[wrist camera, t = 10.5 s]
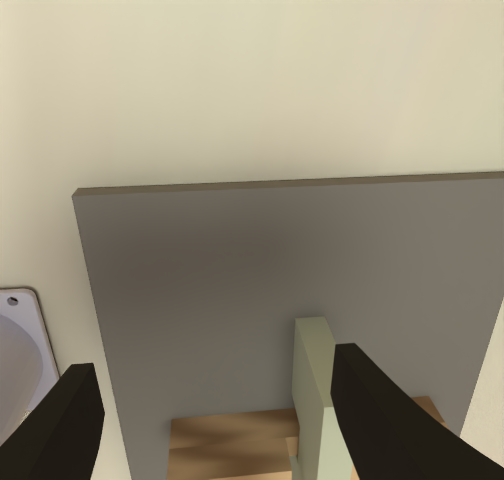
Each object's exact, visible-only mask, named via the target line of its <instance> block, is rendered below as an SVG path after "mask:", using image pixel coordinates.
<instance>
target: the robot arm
mask: <svg viewBox="0 0 504 480" xmlns="http://www.w3.org/2000/svg"><path fill="white" fill-rule="evenodd" d="M10 297H14V298H16V299H17V300H18V301H13V300H12V299H11V298H10ZM330 395H331V399H332V403H333V407H334V411H335V414H336V418H337V422H338V426H339V428H340V431H341V434H342V436H343V439H344V441H345V444H346V447H347V449H348V452H349V454H350V457H351V459H352V462H353V465H354V467H355V470H356V472H357V475H358V477H359V480H504V468H503V467H502V466H500V465H499V464H497V463H496V462H494V461H493V460H491V459H489V458H488V457H486V456H485V455H483V454H482V453H480V452H479V451H477V450H476V449H474V448H473V447H472V446H470V445H469V444H467V443H466V442H465V441H463V440H462V439H461V438H459V437H458V436H457V435H455V434H454V433H453V432H451V431H450V430H448V429H447V428H446V427H444V426H443V425H442V424H441V423H439V422H438V421H437V420H436V419H434V418H433V417H432V416H431V415H430V414H429V413H427V412H426V411H425V410H424V409H423V408H422V407H420V406H419V405H418V404H417V403H416V402H415V401H414V400H413V399H411V398H410V397H409V396H408V395H407V394H406V393H405V392H404V391H403V390H402V389H401V388H400V387H399V386H398V385H396V384H395V383H394V382H393V381H392V380H391V379H390V378H389V377H388V376H387V375H386V374H385V373H384V372H383V371H382V370H381V369H380V368H379V367H378V366H377V365H376V364H375V363H374V362H373V361H372V360H371V359H370V358H369V357H368V356H367V355H366V353H365V352H364V351H363V350H362V349H361V348H360V347H359V346H358V345H357V344H356V343H345V344H335V352H334V362H333V371H332V381H331V390H330ZM30 410H33V411H32V412H31V413H30V414H29V415H28V417H27V418H26V419H25V420H24V421H23V422H22V423H21V425H20V422H21V420H22V418H23V416H24V414H25V412H26V411H30ZM104 416H105V411H104V407H103V403H102V398H101V394H100V390H99V385H98V381H97V377H96V372H95V368H94V364H93V363H84V364H72V365H71V366H70V367H69V368H68V369H67V370H66V371H65V373H64V374H63V375H62V376H61V377H60V378H59V375H58V371H57V368H56V364H55V361H54V357H53V354H52V350H51V347H50V343H49V340H48V336H47V333H46V329H45V325H44V322H43V318H42V315H41V311H40V308H39V304H38V301H37V297H36V295H35V293H34V292H33V291H31V290H29V289H7V290H0V480H90V479H91V475H92V472H93V468H94V465H95V461H96V458H97V454H98V450H99V446H100V440H101V435H102V428H103V422H104ZM19 425H20V426H19Z"/></svg>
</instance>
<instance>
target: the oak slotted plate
mask: <svg viewBox="0 0 504 480" xmlns="http://www.w3.org/2000/svg"><path fill="white" fill-rule="evenodd" d="M410 398H411V399H413V400H414V401H415V402H416V403H417V404H418V405H419V406H420V407H422V408H423V409H424V410H425V411H426V412H427V413H429V414H430V415H431V416H432V417H433V418H434V419H436V420H437V421H438V422H439V423H441V424H442V425H443V426H444V427H446V428H447V429H448V430H450V429H449V428H448V426H447V425H446V423H445V421H444V420H443V418H442V416H441V415H440V413H439V412H438V410H437V408H436V407H435V405H434V404H433V402H432V400H431V399H430V397H429V396H421V397H410ZM299 433H300V425H299V421H298V417H297V413H296V409H295V408H288V409H277V410H266V411H255V412H244V413H233V414H222V415H211V416H200V417H188V418H177V419H171V431H170V443H169V455H168V468H167V480H292V468H291V463H290V458H289V456H294V455H298V449H299ZM350 480H359V477H358V475H357V472H356V470H355V467H354V465H353V467H352V473H351V479H350Z"/></svg>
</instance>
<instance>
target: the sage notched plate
mask: <svg viewBox="0 0 504 480" xmlns="http://www.w3.org/2000/svg"><path fill="white" fill-rule="evenodd" d="M335 344H336V342H335V340H334V337H333V335H332V333H331V330H330V328H329V326H328V323H327V321H326V319H325V316H322V317H307V318H295V336H294V355H293V375H292V397H293V401H294V405H295V409H296V413H297V417H298V421H299V425H300V433H299V449H298V455H294V456H289V458H290V463H291V468H292V480H350V479H351V473H352V467H353V462H352V459H351V457H350V454H349V452H348V449H347V447H346V444H345V441H344V439H343V436H342V434H341V431H340V428H339V426H338V422H337V418H336V414H335V411H334V407H333V403H332V399H331V395H330V390H331V381H332V371H333V362H334V352H335Z"/></svg>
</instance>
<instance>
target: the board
mask: <svg viewBox="0 0 504 480" xmlns="http://www.w3.org/2000/svg"><path fill="white" fill-rule="evenodd" d="M72 200H73V204H74V209H75V214H76V219H77V223H78V228H79V233H80V237H81V242H82V247H83V252H84V256H85V261H86V266H87V271H88V275H89V280H90V285H91V290H92V294H93V299H94V304H95V308H96V313H97V318H98V323H99V327H100V332H101V337H102V342H103V346H104V351H105V356H106V360H107V365H108V370H109V375H110V379H111V384H112V389H113V394H114V398H115V403H116V408H117V412H118V417H119V422H120V427H121V431H122V436H123V441H124V446H125V450H126V455H127V460H128V464H129V469H130V474H131V479H132V480H167V468H168V455H169V443H170V431H171V419H177V418H188V417H200V416H211V415H222V414H233V413H244V412H255V411H266V410H277V409H288V408H295V405H294V401H293V397H292V375H293V355H294V336H295V318H307V317H322V316H325V319H326V321H327V323H328V326H329V328H330V330H331V333H332V335H333V337H334V340H335V342H336V344H345V343H356V344H357V345H358V346H359V347H360V348H361V349H362V350H363V351H364V352H365V353H366V355H367V356H368V357H369V358H370V359H371V360H372V361H373V362H374V363H375V364H376V365H377V366H378V367H379V368H380V369H381V370H382V371H383V372H384V373H385V374H386V375H387V376H388V377H389V378H390V379H391V380H392V381H393V382H394V383H395V384H396V385H398V386H399V387H400V388H401V389H402V390H403V391H404V392H405V393H406V394H407V395H408V396H409V397H421V396H429V397H430V399H431V400H432V402H433V404H434V405H435V407H436V408H437V410H438V412H439V413H440V415H441V416H442V418H443V420H444V421H445V423H446V425H447V426H448V428H449V429H450V431H451V432H453V433H454V434H455V435H457V436H458V437H460V434H461V430H462V427H463V424H464V421H465V418H466V415H467V411H468V408H469V405H470V402H471V399H472V396H473V392H474V389H475V386H476V383H477V380H478V376H479V373H480V370H481V367H482V364H483V361H484V357H485V354H486V351H487V348H488V345H489V342H490V338H491V335H492V332H493V329H494V326H495V323H496V319H497V316H498V313H499V310H500V307H501V304H502V300H503V297H504V172H483V173H458V174H432V175H407V176H382V177H357V178H331V179H306V180H281V181H255V182H230V183H205V184H180V185H154V186H129V187H104V188H78V189H77V190H76V191H75V193H74V194H73V195H72Z"/></svg>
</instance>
